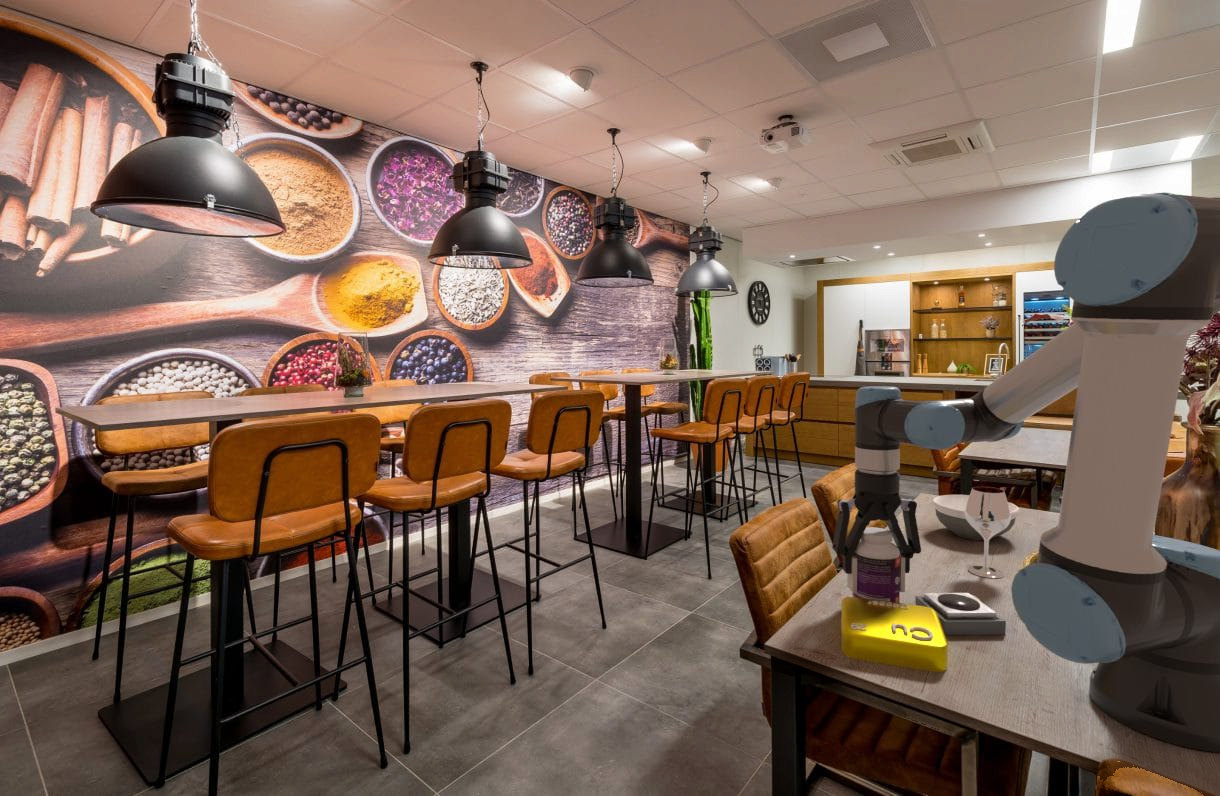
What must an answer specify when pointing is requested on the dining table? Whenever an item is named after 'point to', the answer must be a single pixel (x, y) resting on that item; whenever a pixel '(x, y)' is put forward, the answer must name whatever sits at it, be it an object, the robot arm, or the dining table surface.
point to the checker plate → (959, 606)
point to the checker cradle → (968, 624)
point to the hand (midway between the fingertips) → (875, 589)
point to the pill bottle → (878, 566)
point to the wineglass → (987, 521)
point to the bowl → (963, 516)
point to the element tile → (893, 634)
